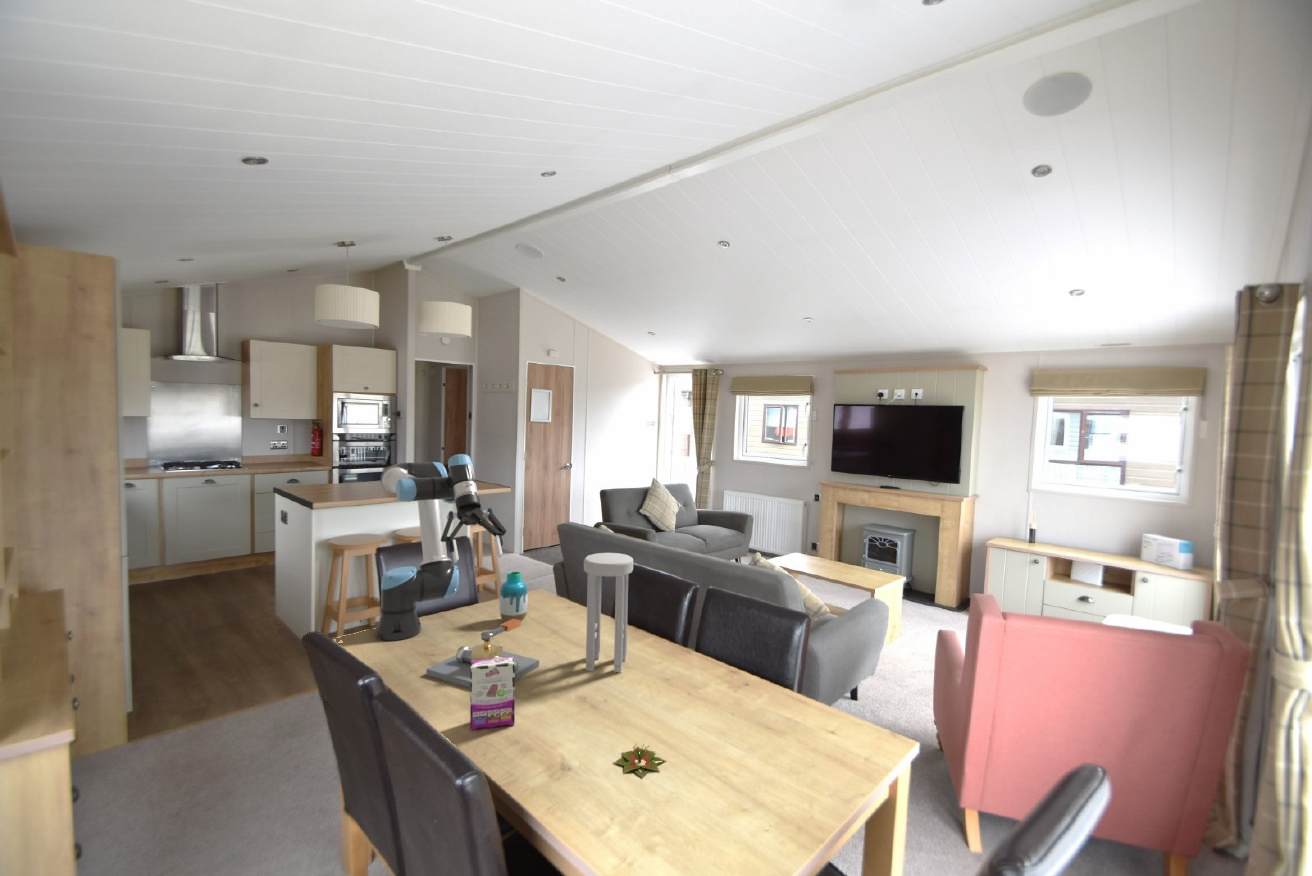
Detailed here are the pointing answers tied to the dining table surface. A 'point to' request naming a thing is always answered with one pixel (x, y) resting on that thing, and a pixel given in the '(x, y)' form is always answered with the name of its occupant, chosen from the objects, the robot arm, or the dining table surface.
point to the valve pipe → (481, 653)
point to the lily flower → (639, 760)
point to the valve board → (461, 671)
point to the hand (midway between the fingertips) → (478, 558)
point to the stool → (595, 569)
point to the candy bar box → (492, 693)
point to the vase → (513, 597)
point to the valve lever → (501, 629)
